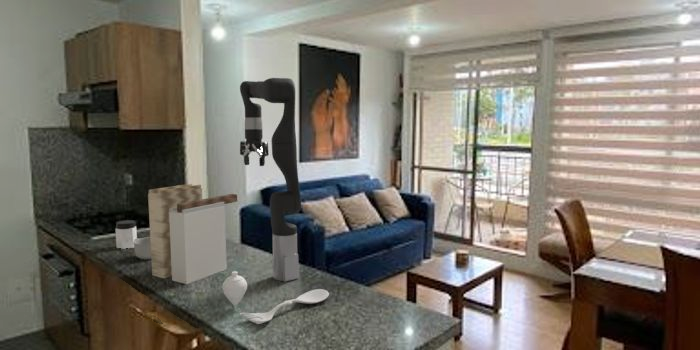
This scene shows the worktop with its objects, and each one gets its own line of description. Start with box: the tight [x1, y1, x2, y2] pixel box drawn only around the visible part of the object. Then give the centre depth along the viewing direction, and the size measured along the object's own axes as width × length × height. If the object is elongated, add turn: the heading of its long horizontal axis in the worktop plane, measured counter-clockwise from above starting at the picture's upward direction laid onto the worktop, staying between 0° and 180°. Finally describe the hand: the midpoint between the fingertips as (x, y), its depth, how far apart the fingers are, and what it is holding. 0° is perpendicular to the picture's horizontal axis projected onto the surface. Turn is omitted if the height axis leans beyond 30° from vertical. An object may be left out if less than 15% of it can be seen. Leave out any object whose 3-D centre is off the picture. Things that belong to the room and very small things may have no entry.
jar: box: [115, 219, 138, 250], centre depth 219 cm, size 9×8×12 cm
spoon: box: [239, 288, 330, 325], centre depth 146 cm, size 9×32×4 cm, turn 139°
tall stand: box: [147, 183, 203, 279], centre depth 184 cm, size 20×7×34 cm, turn 150°
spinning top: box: [221, 270, 248, 309], centre depth 147 cm, size 8×8×12 cm
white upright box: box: [169, 202, 228, 285], centre depth 179 cm, size 20×8×28 cm, turn 150°
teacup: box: [133, 236, 151, 260], centre depth 203 cm, size 14×11×8 cm
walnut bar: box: [177, 193, 238, 213], centre depth 182 cm, size 28×3×3 cm, turn 150°
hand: (254, 165), depth 202 cm, fingers open, 8 cm apart
